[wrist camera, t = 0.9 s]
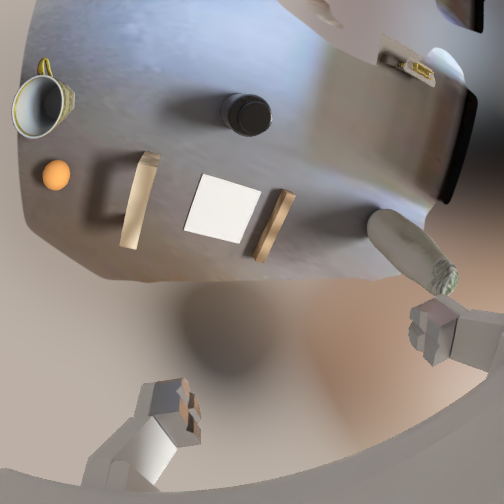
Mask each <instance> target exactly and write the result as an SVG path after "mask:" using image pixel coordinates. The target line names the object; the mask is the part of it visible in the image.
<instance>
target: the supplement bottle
mask: <svg viewBox="0 0 504 504" xmlns="http://www.w3.org/2000/svg"><path fill="white" fill-rule="evenodd" d="M220 115H221V118H222V121H223V122H224V123H225V124H226V125H227V126H228V127H229V128H230V129H232V130H233V131H234V132H236V133H237V134H239V135H242V136H246V137H252V136H256V135H259V134H261V133H262V132H264V131H266V130H267V129H268V128H269V126H270V124H271V123H272V113H271V109H270V107H269V105H268V103H267V102H266V101H265V100H264V99H263V98H261V97H259V96H257V95H253V94H242V93H239V94H234V95H231V96H229V97H228V98H227V99H226V100H225V101H224V102H223V104H222V106H221V110H220Z"/></svg>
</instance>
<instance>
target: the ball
mask: <svg viewBox="0 0 504 504" xmlns="http://www.w3.org/2000/svg"><path fill="white" fill-rule="evenodd" d="M69 178H70V169H69V167H68V165H67V164H66V163H65V162H64V161H61V160H54V161H52V162H50V163H49V164H48V165H47V166H46V167H45V169H44V171H43V182H44V184H45V186H46V187H47V188H49V189H51V190H59V189H62V188H63V187H64V186H65V185H66V184H67V183H68V181H69Z"/></svg>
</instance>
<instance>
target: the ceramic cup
mask: <svg viewBox="0 0 504 504" xmlns="http://www.w3.org/2000/svg"><path fill="white" fill-rule="evenodd" d="M44 61H45V63H46V68H47V72H48V74H49V76H48V75H46V74H45V72H44ZM37 74H38V75H37V76H34V77H32V78H30V79H29V80H27V81H26V82H25V83H24V84H23V85H22V86H21V87H20V88H19V90H18V91H17V93H16V95H15V98H14V100H13V105H12V120H13V124H14V126H15V128H16V130H17V131H18V132H19V133H20V134H21V135H22V136H24V137H26V138H31V139H35V138H40V137H43V136H45V135H46V134H48V133H49V132H51V131H52V130H53V129H54V128H55V127H56V126H57V125H58V124H59V123H60V122H62V121H63V120H64V119H65V118H66V117H67V116H68V114H69V113H70V112H71V111H72V110H73V108H74V102H75V93H74V92H73V91H72V90H71V89H70V88H69V87H68V86H67V85H66V84H64V83H62V82H60V81H59V80H57V79H56V78H54V77H53V76H52V72H51V69H50V64H49V61H48V59H47V58H43V59H41V60H40V62H39V64H38V68H37Z"/></svg>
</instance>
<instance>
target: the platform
mask: <svg viewBox="0 0 504 504" xmlns="http://www.w3.org/2000/svg"><path fill="white" fill-rule="evenodd" d="M423 58H424V57H422V56H421V55H419V54H418V53H416V52H415V51H413V50H411V49H409V48H408V47H406V46H404V45H403V44H401V43H400V42H398V41H396V40H394V39H392V38H390V37H389V36H387V35H385V34H383V33H382V34H381V40H380V45H379V52H378V57H377V63H376V66H379V67H383V68H398V69H400V70H401V71H403V72H405V73H407V74H409V75H411V76H412V77H414V78H416V79H417V80H421V81H423V82H425V83H426V84H428V85H430V86H431V87H434V86H435V79H434V75H433V74H434V73H433V72H432V70H431V69H430V68H428V67H427V66H425V65H424V64H422V63H421V62H420V61H421V60H422V59H423ZM422 70H423V71H422ZM424 71H425V72H424ZM426 72H427V73H426Z"/></svg>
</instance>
